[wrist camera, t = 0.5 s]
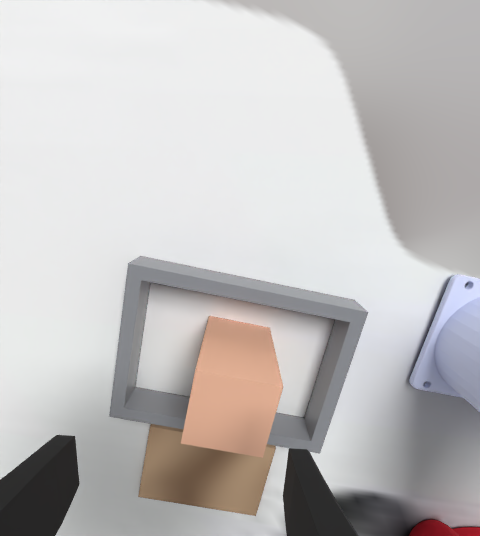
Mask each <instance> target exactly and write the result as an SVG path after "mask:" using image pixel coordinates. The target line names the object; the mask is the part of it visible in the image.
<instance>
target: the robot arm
mask: <svg viewBox="0 0 480 536" xmlns="http://www.w3.org/2000/svg"><path fill="white" fill-rule="evenodd" d="M467 282H468V285H467V286H466V287H465V284H466V283H467ZM409 381H410V384H411V385H412V386H413V387H414V388H416V389H419V390H424V391H430V392H435V393H440V394H445V395H451V396H456V397H461V398H464V399H465V400H467V401H468V402H469V403H470V404H471V405H472V406H473V407H474V408H476V409H477V410H478V411H479V412H480V279H479V278H475V277H470V276H465V275H461V274H457V275H454V276H453V277H451V279H450V280H449V283H448V285H447V288H446V290H445V293H444V295H443V298H442V300H441V303H440V305H439V308H438V310H437V313H436V315H435V317H434V320H433V322H432V325H431V327H430V330H429V332H428V335H427V337H426V340H425V342H424V345H423V347H422V350H421V352H420V355H419V357H418V360H417V362H416V364H415V367H414V369H413V372H412V374H411V377H410V380H409ZM426 381H427V382H426ZM424 382H426V383H425V384H424ZM78 486H79V475H78V464H77V453H76V442H75V436H65V435H56V436H55V437H54V438H52V439H51V440H50V441H49V442H47V443H46V444H45V445H43V446H42V447H41V448H40V449H38V450H37V451H36V452H35V453H34V454H32V455H31V456H30V457H29V458H27V459H26V460H25V461H24V462H22V463H21V464H20V465H19V466H17V467H16V468H15V469H14V470H12V471H11V472H10V473H8V474H7V475H6V476H5V477H3V478H2V479H1V480H0V536H55V535H56V533H57V531H58V529H59V528H60V526H61V524H62V522H63V520H64V518H65V516H66V513H67V511H68V509H69V507H70V505H71V503H72V500H73V498H74V496H75V493H76V491H77V489H78ZM283 501H284V512H285V523H286V533H287V536H358V534H357V533H356V531H355V530H354V528H353V526H352V525H351V523H350V522H349V520H348V518H347V517H346V515H345V514H344V512H343V510H342V509H341V507H340V506H339V504H338V502H337V501H336V499H335V497H334V496H333V494H332V492H331V490H330V489H329V487H328V485H327V483H326V482H325V480H324V478H323V476H322V475H321V473H320V471H319V469H318V467H317V465H316V463H315V462H314V460H313V458H312V456H311V454H310V452H309V451H308V450H307V449H293V448H289V453H288V461H287V469H286V476H285V484H284V492H283Z"/></svg>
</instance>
